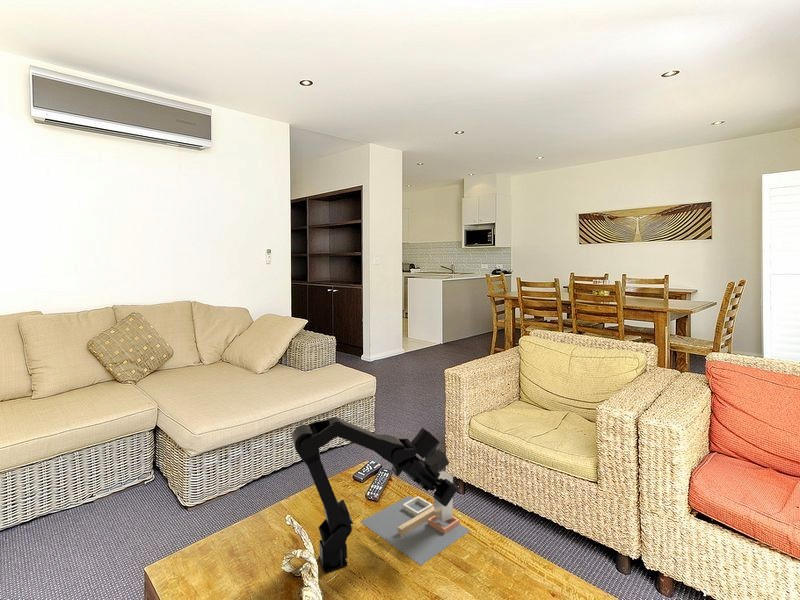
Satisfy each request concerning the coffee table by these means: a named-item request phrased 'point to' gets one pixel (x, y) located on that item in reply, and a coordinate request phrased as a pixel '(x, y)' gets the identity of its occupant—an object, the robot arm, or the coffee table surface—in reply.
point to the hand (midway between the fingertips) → (446, 494)
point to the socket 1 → (417, 499)
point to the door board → (413, 530)
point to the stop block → (439, 509)
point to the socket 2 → (444, 530)
